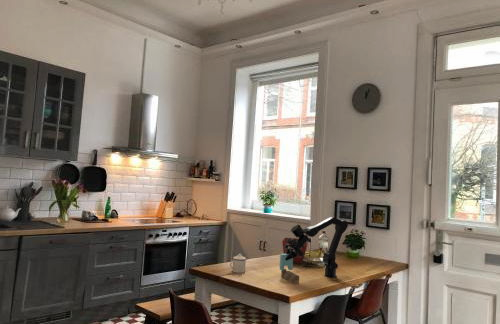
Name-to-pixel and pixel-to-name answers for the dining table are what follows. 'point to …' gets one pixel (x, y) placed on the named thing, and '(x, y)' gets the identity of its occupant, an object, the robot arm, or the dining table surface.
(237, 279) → the dining table surface
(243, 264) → the teacup with lid
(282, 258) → the teal notched plate
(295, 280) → the walnut rail
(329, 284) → the dining table surface
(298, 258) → the plant pot
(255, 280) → the dining table surface
